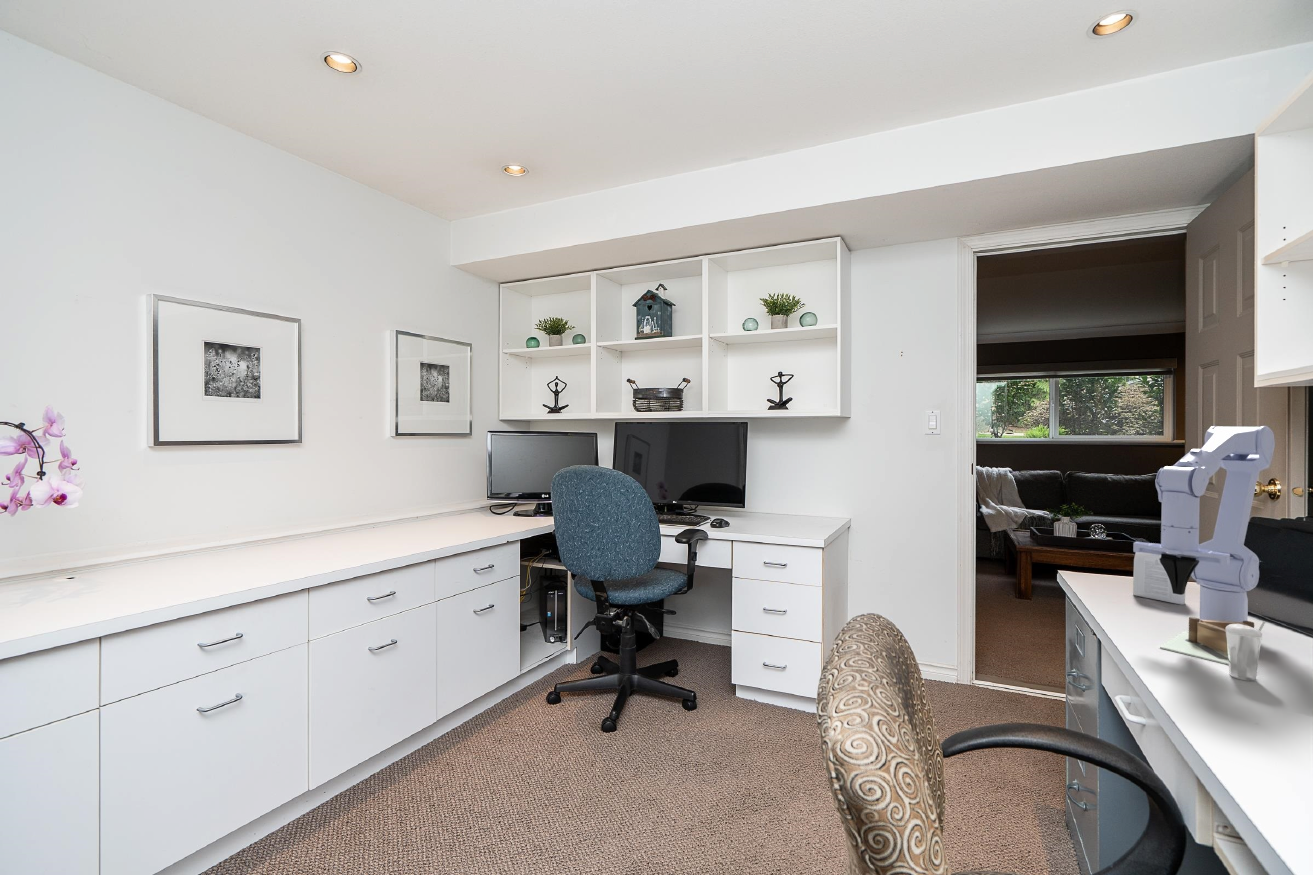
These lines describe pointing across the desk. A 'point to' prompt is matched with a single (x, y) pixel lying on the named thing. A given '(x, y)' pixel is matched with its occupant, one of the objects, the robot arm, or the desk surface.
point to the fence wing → (1212, 636)
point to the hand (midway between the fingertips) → (1178, 593)
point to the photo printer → (1153, 579)
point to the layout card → (1195, 649)
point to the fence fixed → (1220, 624)
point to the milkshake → (1243, 650)
